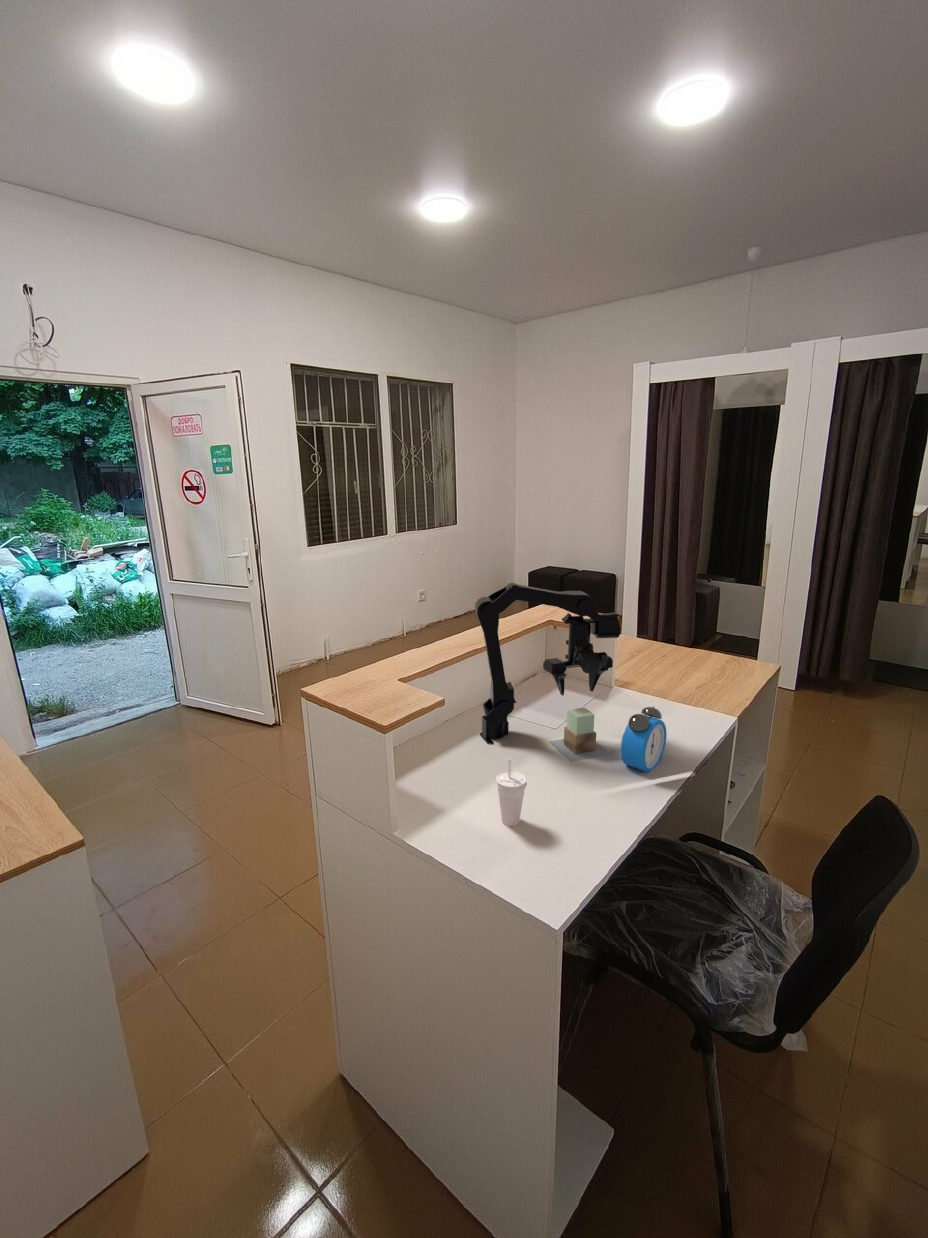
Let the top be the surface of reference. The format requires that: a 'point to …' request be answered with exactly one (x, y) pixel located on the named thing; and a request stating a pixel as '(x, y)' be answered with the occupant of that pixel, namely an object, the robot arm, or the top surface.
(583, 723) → the sage cube
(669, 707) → the top surface
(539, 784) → the top surface
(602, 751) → the mat
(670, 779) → the top surface
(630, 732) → the alarm clock
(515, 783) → the smoothie
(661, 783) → the top surface
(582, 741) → the walnut block
